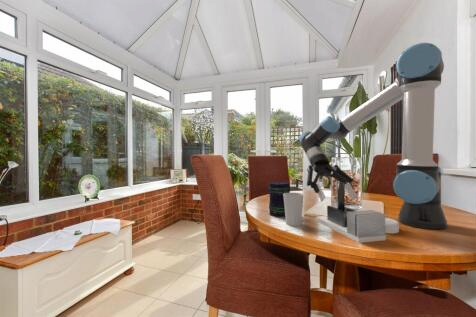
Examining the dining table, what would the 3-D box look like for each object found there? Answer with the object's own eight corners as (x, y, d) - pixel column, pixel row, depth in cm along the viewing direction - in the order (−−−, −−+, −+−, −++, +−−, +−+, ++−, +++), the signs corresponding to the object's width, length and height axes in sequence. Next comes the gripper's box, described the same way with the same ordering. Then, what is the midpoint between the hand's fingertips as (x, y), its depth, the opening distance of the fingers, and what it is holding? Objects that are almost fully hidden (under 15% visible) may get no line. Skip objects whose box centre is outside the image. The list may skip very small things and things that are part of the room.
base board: (315, 220, 97) (315, 216, 97) (336, 218, 99) (336, 215, 99) (358, 242, 72) (358, 238, 72) (385, 240, 74) (385, 235, 74)
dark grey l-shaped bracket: (334, 218, 90) (334, 182, 89) (341, 217, 90) (341, 181, 90) (364, 231, 74) (364, 187, 74) (373, 230, 75) (373, 187, 74)
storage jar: (290, 217, 101) (289, 184, 101) (268, 216, 104) (267, 183, 103) (290, 212, 111) (290, 181, 111) (270, 211, 113) (269, 181, 113)
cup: (304, 227, 88) (304, 196, 88) (283, 226, 89) (283, 195, 89) (302, 221, 96) (302, 192, 96) (283, 220, 97) (283, 192, 97)
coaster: (364, 230, 84) (364, 221, 84) (370, 223, 92) (370, 215, 92) (397, 236, 78) (397, 226, 78) (400, 228, 85) (400, 219, 85)
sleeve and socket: (322, 220, 92) (322, 202, 92) (344, 218, 94) (344, 201, 94) (358, 237, 72) (358, 215, 72) (385, 235, 74) (385, 213, 74)
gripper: (338, 164, 108) (361, 201, 94) (289, 165, 103) (306, 205, 89) (345, 152, 103) (371, 191, 88) (294, 153, 98) (313, 194, 83)
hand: (339, 198), depth 89 cm, fingers open, 13 cm apart
